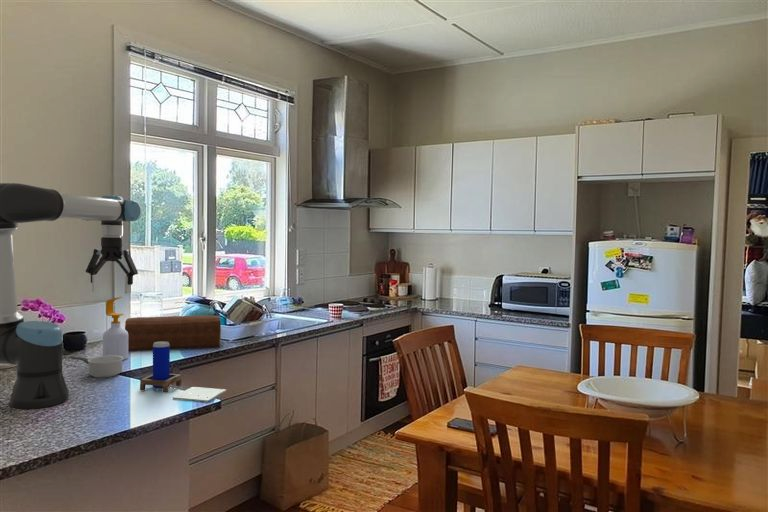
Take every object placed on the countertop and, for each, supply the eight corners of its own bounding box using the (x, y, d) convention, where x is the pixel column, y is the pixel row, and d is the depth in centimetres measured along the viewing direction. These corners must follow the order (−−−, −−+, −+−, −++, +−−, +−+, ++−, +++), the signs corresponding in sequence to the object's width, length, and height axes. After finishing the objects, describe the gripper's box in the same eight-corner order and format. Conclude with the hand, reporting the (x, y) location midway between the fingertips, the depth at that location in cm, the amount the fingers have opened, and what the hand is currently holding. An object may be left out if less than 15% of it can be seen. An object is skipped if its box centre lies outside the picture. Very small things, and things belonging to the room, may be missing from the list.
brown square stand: (166, 392, 182) (166, 381, 182) (139, 390, 183) (140, 379, 183) (181, 385, 191) (181, 374, 191) (156, 383, 193) (156, 372, 192)
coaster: (208, 402, 173) (208, 400, 173) (172, 399, 176) (172, 397, 176) (226, 391, 185) (226, 389, 185) (192, 388, 187) (192, 386, 187)
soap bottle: (118, 362, 219) (118, 298, 218) (97, 360, 221) (97, 297, 220) (133, 357, 228) (133, 296, 227) (113, 355, 230) (113, 295, 229)
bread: (220, 347, 251) (221, 317, 250) (124, 352, 238) (124, 320, 237) (218, 340, 265) (219, 312, 265) (127, 344, 252) (127, 314, 252)
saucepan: (82, 367, 210) (82, 352, 210) (130, 371, 206) (130, 356, 206) (58, 375, 199) (58, 359, 199) (108, 380, 195) (108, 364, 195)
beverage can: (164, 384, 191) (164, 340, 190) (172, 387, 188) (172, 342, 187) (149, 387, 187) (149, 342, 186) (157, 391, 184) (158, 345, 183)
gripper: (147, 237, 218) (147, 292, 218) (89, 235, 222) (88, 290, 223) (136, 237, 210) (135, 295, 211) (75, 235, 214) (75, 292, 215)
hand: (111, 292), depth 217 cm, fingers open, 13 cm apart
